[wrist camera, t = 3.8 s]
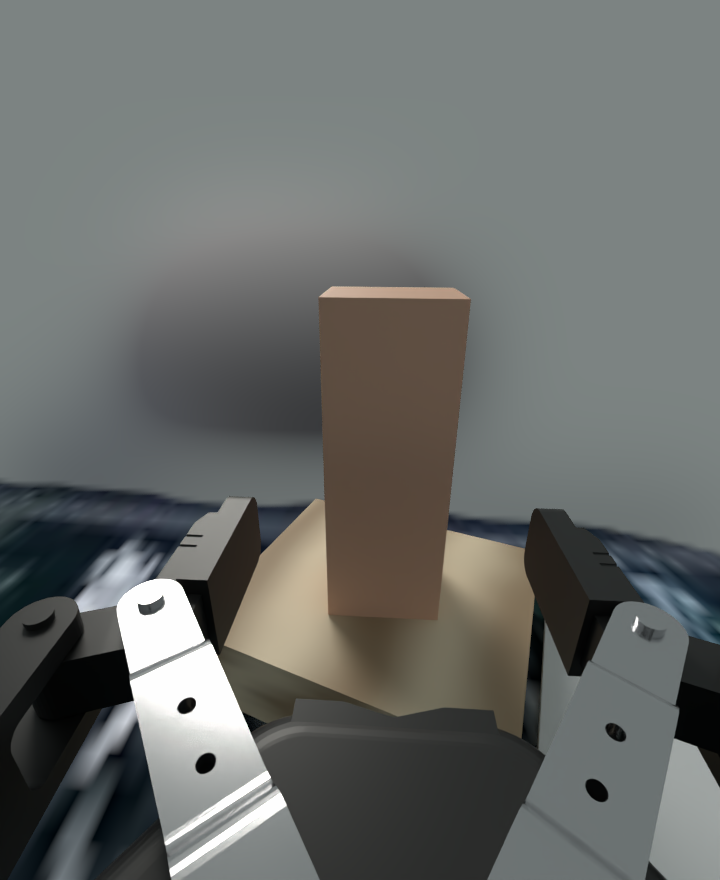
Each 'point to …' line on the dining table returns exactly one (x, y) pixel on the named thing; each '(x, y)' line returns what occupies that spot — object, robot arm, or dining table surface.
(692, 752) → the mat
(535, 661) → the dining table surface
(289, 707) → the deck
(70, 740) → the robot arm
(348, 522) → the tall tan block
